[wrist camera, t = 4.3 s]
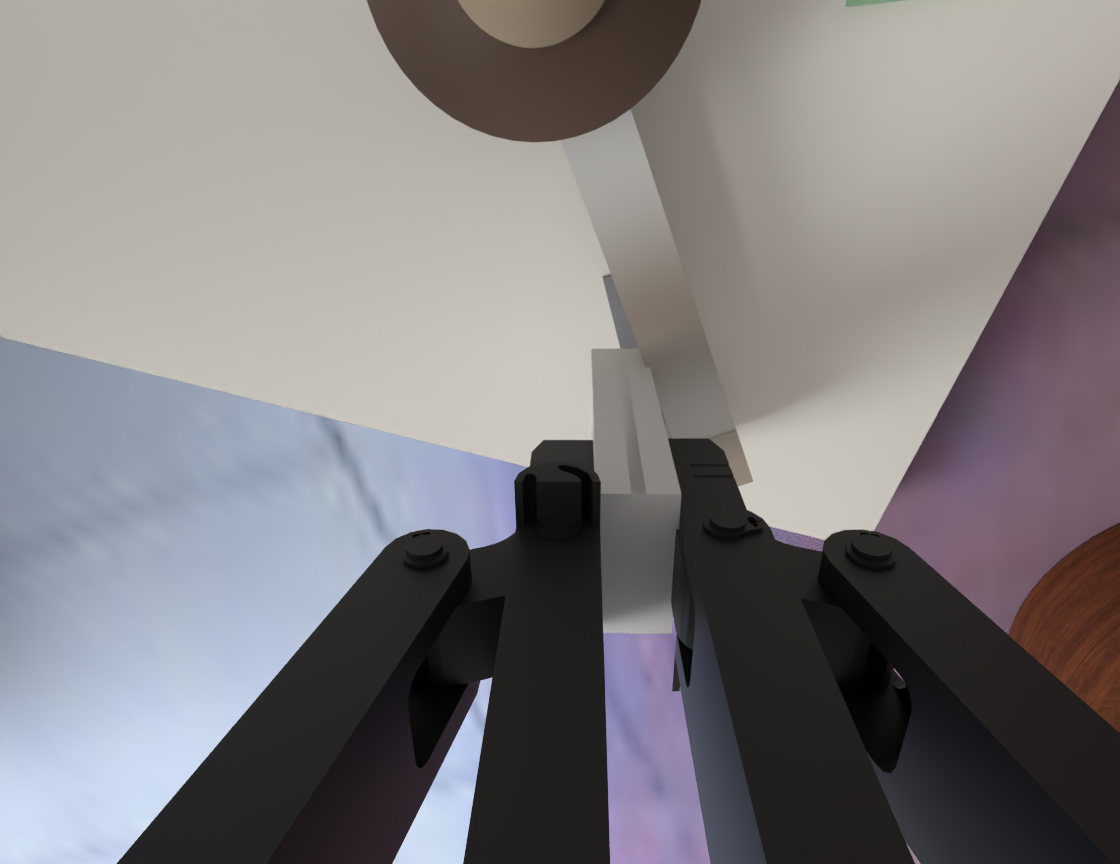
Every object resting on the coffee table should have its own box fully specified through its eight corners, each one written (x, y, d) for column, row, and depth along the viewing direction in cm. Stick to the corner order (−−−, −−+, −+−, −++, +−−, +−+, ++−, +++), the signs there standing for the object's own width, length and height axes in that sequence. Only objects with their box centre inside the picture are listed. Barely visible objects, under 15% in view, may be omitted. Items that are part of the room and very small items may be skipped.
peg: (384, -90, 14) (277, -179, 9) (624, -216, 13) (644, -387, 8) (619, 471, 20) (627, 601, 15) (802, 411, 19) (877, 529, 14)
